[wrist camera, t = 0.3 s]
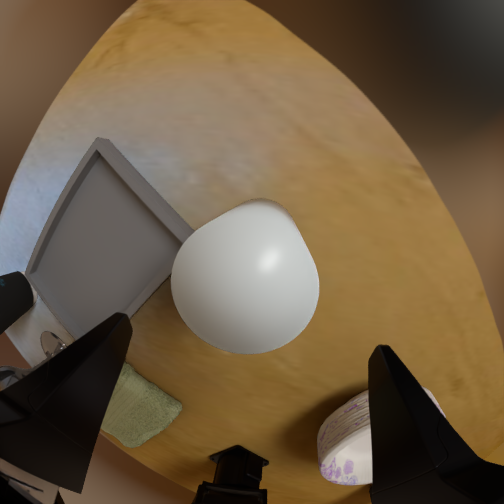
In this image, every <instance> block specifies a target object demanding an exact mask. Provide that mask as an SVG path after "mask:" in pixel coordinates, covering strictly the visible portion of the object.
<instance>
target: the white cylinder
mask: <svg viewBox="0 0 504 504" xmlns="http://www.w3.org/2000/svg"><path fill="white" fill-rule="evenodd" d="M171 290H172V296H173V300H174V303H175V306H176V308H177V310H178V313H179V314H180V316H181V318H182V319H183V321H184V322H185V324H186V325H187V326H188V327H189V328H190V329H191V330H192V331H193V333H194V334H196V335H197V336H198V337H199V338H201V339H202V340H204V341H205V342H207V343H208V344H210V345H212V346H214V347H216V348H219V349H221V350H224V351H228V352H232V353H238V354H258V353H264V352H268V351H272V350H274V349H277V348H279V347H281V346H283V345H285V344H287V343H289V342H290V341H292V340H293V339H294V338H295V337H297V336H298V335H299V334H300V333H301V332H302V331H303V330H304V328H305V327H306V326H307V324H308V323H309V321H310V320H311V318H312V316H313V314H314V312H315V309H316V306H317V302H318V297H319V279H318V273H317V269H316V266H315V264H314V261H313V259H312V256H311V254H310V252H309V250H308V248H307V246H306V244H305V242H304V240H303V238H302V236H301V234H300V232H299V230H298V228H297V227H296V225H295V223H294V221H293V219H292V217H291V215H290V214H289V212H288V211H287V210H286V209H285V208H284V207H283V206H282V205H280V204H279V203H277V202H275V201H272V200H269V199H263V198H257V199H251V200H248V201H246V202H244V203H242V204H240V205H238V206H236V207H235V208H233V209H231V210H229V211H228V212H226V213H224V214H222V215H221V216H219V217H217V218H216V219H214V220H212V221H210V222H209V223H207V224H205V225H204V226H202V227H201V228H199V229H198V230H196V231H195V232H194V233H193V234H192V235H191V236H190V237H188V239H187V240H186V241H185V242H184V244H183V245H182V247H181V248H180V250H179V252H178V253H177V256H176V258H175V261H174V264H173V268H172V274H171Z"/></svg>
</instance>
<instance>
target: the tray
mask: <svg viewBox="0 0 504 504" xmlns="http://www.w3.org/2000/svg"><path fill="white" fill-rule="evenodd" d="M194 232H195V231H194V230H193V229H192V228H191V227H190V226H189V225H188V224H187V223H186V222H185V221H184V220H183V219H182V218H181V216H180V215H179V214H178V213H177V212H176V211H175V210H174V209H173V208H172V207H171V206H170V205H169V204H168V203H167V202H166V201H165V200H164V199H163V198H162V197H161V196H160V195H159V193H158V192H157V191H156V190H155V189H154V188H153V187H152V186H151V185H150V184H149V183H148V182H147V181H146V180H145V179H144V178H143V176H142V175H141V174H140V173H139V172H138V171H137V170H136V169H135V168H134V167H133V166H132V165H131V164H130V162H129V161H128V160H127V159H126V158H125V157H124V156H123V155H122V154H121V153H120V152H119V150H118V149H117V148H116V147H115V146H114V145H113V144H112V143H111V142H110V141H109V139H104V138H99V137H97V138H96V139H95V141H94V142H93V144H92V145H91V146H90V148H89V149H88V151H87V152H86V154H85V155H84V157H83V158H82V160H81V161H80V163H79V164H78V166H77V168H76V169H75V171H74V172H73V174H72V176H71V177H70V179H69V181H68V182H67V184H66V186H65V188H64V189H63V191H62V193H61V195H60V196H59V198H58V200H57V202H56V204H55V206H54V208H53V210H52V212H51V214H50V216H49V218H48V220H47V222H46V224H45V226H44V228H43V230H42V232H41V234H40V237H39V239H38V241H37V243H36V246H35V248H34V250H33V253H32V255H31V258H30V260H29V263H28V266H27V268H26V271H25V274H24V275H25V276H26V278H27V279H28V281H29V282H30V283H31V285H32V286H33V288H34V289H35V291H36V292H37V293H38V295H39V296H40V297H41V299H42V300H43V301H44V303H45V304H46V305H47V307H48V308H49V309H50V310H51V312H52V313H53V314H54V315H55V317H56V318H57V319H58V320H59V322H60V323H61V324H62V325H63V326H64V327H65V329H66V330H67V331H68V332H69V333H70V334H71V335H72V337H73V338H74V339H75V340H77V339H79V338H80V337H81V336H83V335H84V334H86V333H87V332H88V331H90V330H91V329H93V328H94V327H96V326H97V325H98V324H100V323H101V322H103V321H104V320H106V319H107V318H108V317H110V316H111V315H113V314H114V313H116V312H121V313H126V314H127V315H128V317H129V320H130V318H131V317H132V316H133V315H134V314H135V313H136V312H137V311H138V309H139V308H140V307H141V306H142V305H143V304H144V303H145V302H146V301H147V300H148V298H149V297H150V296H151V295H152V294H153V293H154V292H155V291H156V290H157V289H158V288H159V287H160V285H161V284H162V283H163V282H164V281H165V280H166V279H167V278H168V277H169V276H170V275H171V274H172V268H173V264H174V261H175V258H176V256H177V253H178V252H179V250H180V248H181V247H182V245H183V244H184V242H185V241H186V240H187V239H188V237H190V236H191V235H192V234H193V233H194Z"/></svg>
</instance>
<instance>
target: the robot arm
mask: <svg viewBox="0 0 504 504" xmlns="http://www.w3.org/2000/svg"><path fill="white" fill-rule="evenodd" d="M132 332H133V330H132V326H131V323H130V320H129V317H128V315H127V314H126V313H121V312H116V313H114V314H113V315H111V316H110V317H108V318H107V319H106V320H104V321H103V322H101V323H100V324H98V325H97V326H96V327H94V328H93V329H91V330H90V331H88V332H87V333H86V334H84V335H83V336H81V337H80V338H79V339H77V340H76V341H74V342H73V343H72V344H70V345H69V346H67V347H66V348H65V349H63V350H62V351H61V352H59V353H58V354H56V355H55V356H54V357H52V358H51V359H50V360H49V361H47V362H45V363H44V364H43V365H41V366H40V367H39V368H37V369H36V370H34V371H33V372H31V373H30V374H28V375H27V376H25V377H23V378H22V379H20V380H18V381H17V382H15V383H13V384H12V385H10V386H8V387H7V388H5V389H3V390H1V391H0V504H65V503H64V501H63V499H62V497H61V495H60V493H59V491H58V489H59V487H62V488H65V489H68V490H70V491H73V492H76V493H79V494H81V492H82V489H83V485H84V481H85V477H86V474H87V470H88V466H89V463H90V460H91V456H92V453H93V449H94V446H95V443H96V440H97V437H98V433H99V431H100V428H101V425H102V422H103V419H104V416H105V413H106V410H107V408H108V405H109V402H110V399H111V397H112V394H113V391H114V389H115V386H116V383H117V381H118V378H119V376H120V373H121V370H122V368H123V364H124V361H125V357H126V354H127V350H128V347H129V343H130V340H131V337H132ZM368 402H369V414H370V428H371V446H372V504H504V466H502V465H498V464H495V463H490V462H487V461H485V460H483V459H481V458H480V457H479V456H477V455H476V454H475V452H474V451H473V450H472V449H471V448H470V447H469V446H468V445H467V443H466V442H465V441H464V440H463V439H462V438H461V437H460V436H459V434H458V433H457V432H456V431H455V430H454V428H453V427H452V426H451V425H450V423H449V422H448V421H447V419H446V418H445V417H444V415H443V414H442V413H440V410H439V409H438V407H437V406H436V405H435V403H434V402H433V401H432V399H431V398H430V397H429V395H428V394H427V393H426V391H425V390H424V389H423V388H422V386H421V385H420V384H419V382H418V381H417V380H416V379H415V377H414V376H413V375H412V373H411V372H410V371H409V370H408V368H407V367H406V366H405V365H404V363H403V362H402V361H401V360H400V358H399V357H398V356H397V355H396V353H395V352H394V351H393V350H392V349H391V347H390V346H389V345H378V346H377V347H376V348H375V350H374V351H373V353H372V355H371V356H370V358H369V361H368ZM210 460H212V461H214V462H215V463H217V467H216V471H215V476H214V480H213V483H209V482H207V481H203V483H202V484H201V485H199V486H198V490H197V493H196V496H195V498H194V500H193V502H192V504H267V489H259V485H260V481H261V480H262V467H264V466H267V465H269V461H267V460H265V459H263V458H262V457H260V456H258V455H256V454H254V453H252V452H251V451H249V450H247V449H245V448H243V447H242V446H235V447H232V448H230V449H227V450H225V451H222V452H220V453H217V454H214V455H212V456H210Z"/></svg>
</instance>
